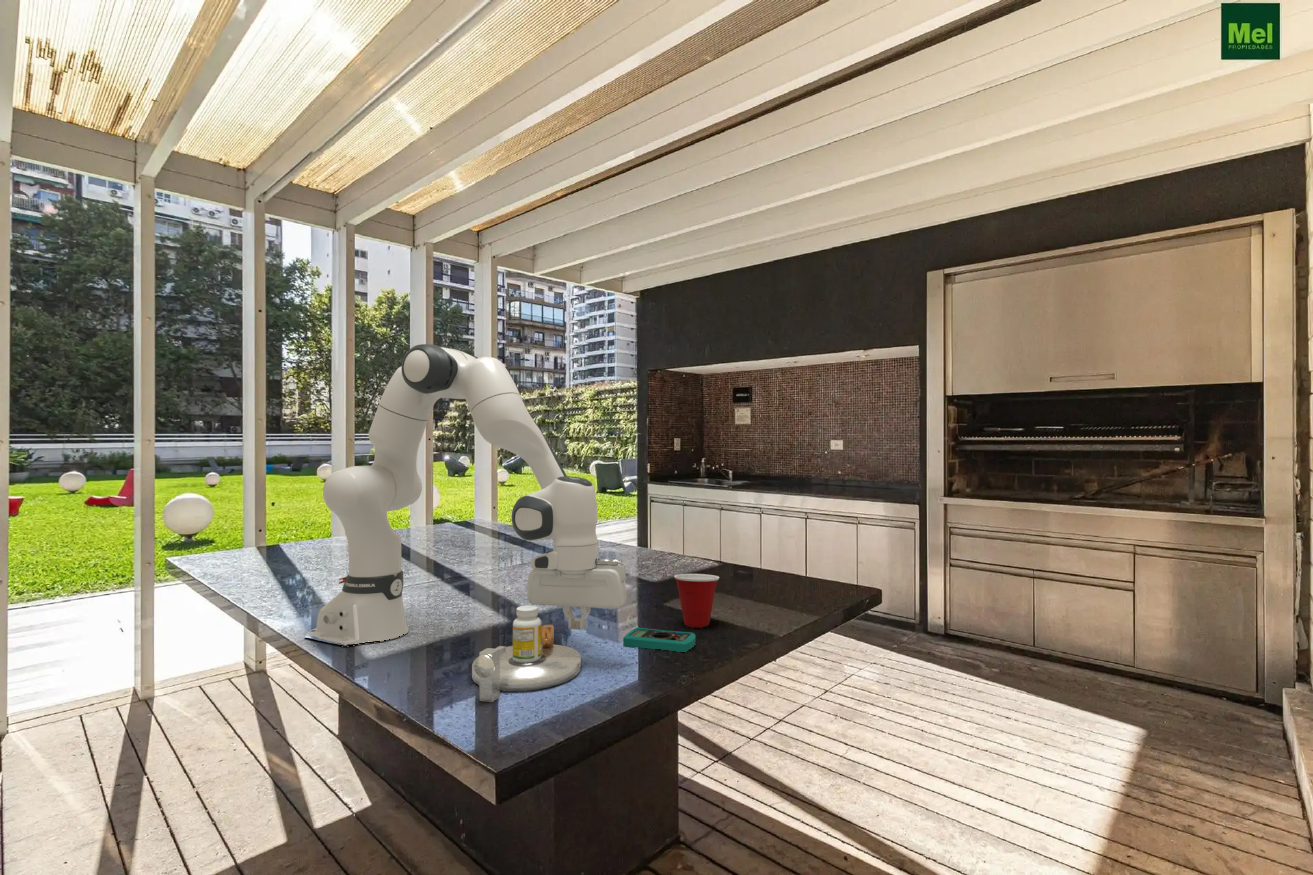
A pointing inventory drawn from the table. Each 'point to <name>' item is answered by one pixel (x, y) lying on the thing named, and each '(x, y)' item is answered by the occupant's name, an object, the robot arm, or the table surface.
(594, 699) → the table surface
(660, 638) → the digital multimeter
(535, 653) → the supplement bottle
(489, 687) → the stand
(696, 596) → the plastic cup
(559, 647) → the turntable
